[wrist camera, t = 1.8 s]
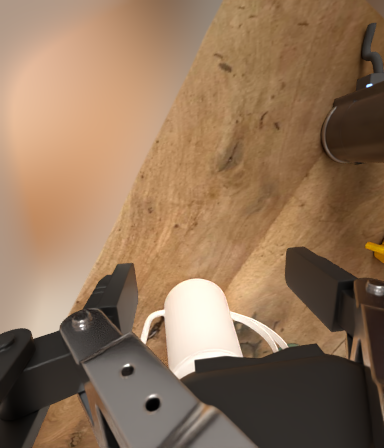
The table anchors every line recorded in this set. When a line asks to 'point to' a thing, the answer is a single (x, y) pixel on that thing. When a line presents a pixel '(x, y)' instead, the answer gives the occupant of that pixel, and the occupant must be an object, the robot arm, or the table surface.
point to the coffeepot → (202, 326)
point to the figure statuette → (377, 250)
